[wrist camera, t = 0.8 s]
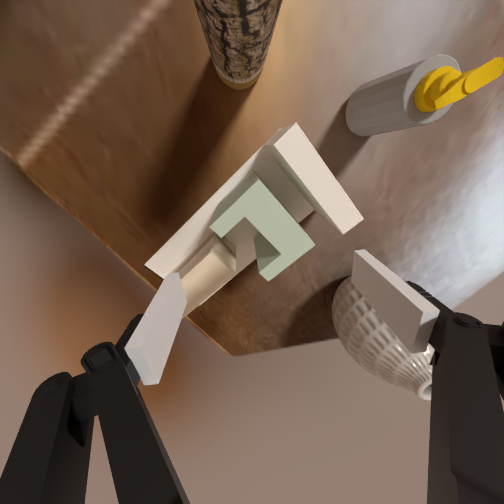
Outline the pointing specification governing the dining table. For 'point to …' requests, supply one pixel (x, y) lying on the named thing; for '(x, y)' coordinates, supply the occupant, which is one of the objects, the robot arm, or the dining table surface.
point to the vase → (378, 343)
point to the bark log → (238, 36)
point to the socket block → (263, 225)
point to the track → (283, 187)
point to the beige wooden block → (206, 270)
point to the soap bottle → (414, 94)
